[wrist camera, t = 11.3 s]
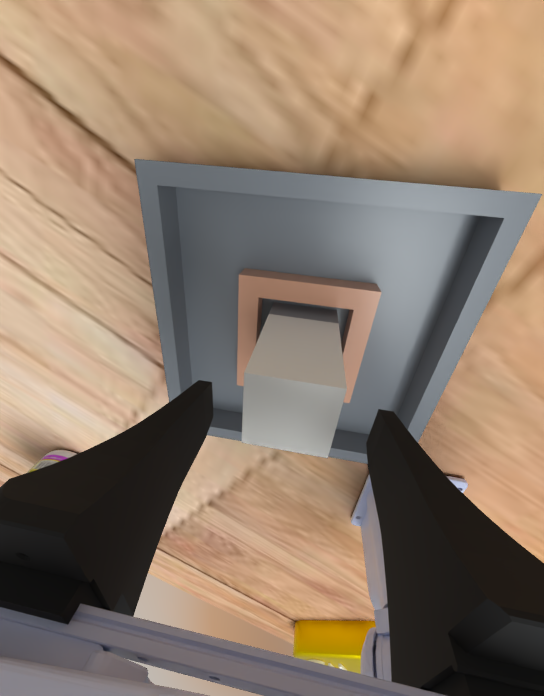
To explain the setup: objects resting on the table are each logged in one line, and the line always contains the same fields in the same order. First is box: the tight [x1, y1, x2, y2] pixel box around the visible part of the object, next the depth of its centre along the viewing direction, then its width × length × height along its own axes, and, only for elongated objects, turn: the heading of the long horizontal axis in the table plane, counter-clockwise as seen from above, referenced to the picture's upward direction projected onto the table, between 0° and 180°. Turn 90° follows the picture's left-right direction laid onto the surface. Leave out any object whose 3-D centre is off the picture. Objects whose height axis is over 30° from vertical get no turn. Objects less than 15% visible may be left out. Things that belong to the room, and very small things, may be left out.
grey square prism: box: [242, 302, 347, 458], centre depth 15 cm, size 4×4×8 cm
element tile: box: [293, 620, 376, 674], centre depth 44 cm, size 15×15×5 cm
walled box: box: [134, 159, 542, 464], centre depth 18 cm, size 18×18×3 cm
